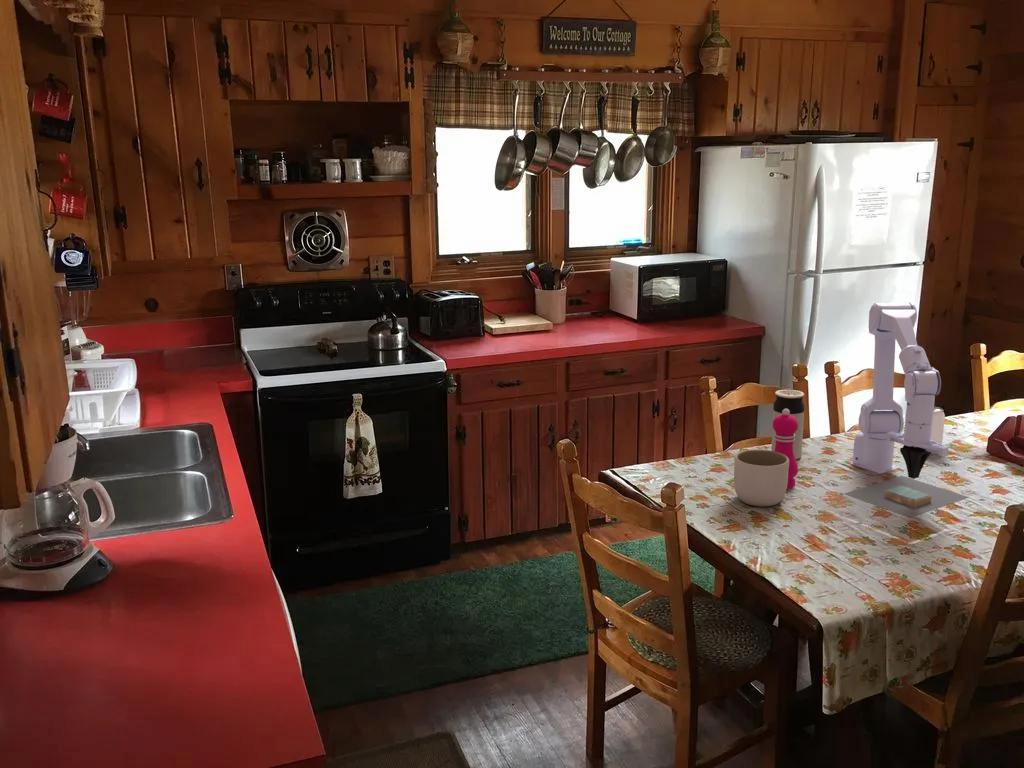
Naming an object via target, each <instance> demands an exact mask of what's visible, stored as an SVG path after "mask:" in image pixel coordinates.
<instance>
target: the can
mask: <svg viewBox="0 0 1024 768" xmlns="http://www.w3.org/2000/svg"><path fill="white" fill-rule="evenodd" d="M944 411H945V410H944V409H943V408H942V407H937V406H934V411H933V422H932V432H931V440H933V441H935V442H937V443H939V444H941V445H943V440H944V429H945V428H944V427H945V419H946V417H945V416H946V415H945V413H944ZM930 455H936V454H935V453H931V454H930Z"/></svg>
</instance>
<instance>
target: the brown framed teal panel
mask: <svg viewBox="0 0 1024 768" xmlns="http://www.w3.org/2000/svg"><path fill="white" fill-rule="evenodd" d="M885 497H886V498H889V499H892V500H894V501H897V502H900V503H903V504H906V505H909V506H911V507H914V508H915V507H918V506H921V505H924V504H927V503H930V502H931V495H929V494H926V493H923V492H920V491H917V490H914V489H911V488H908V487H905V486H898V487H895V488H892V489H889V490H886V491H885Z"/></svg>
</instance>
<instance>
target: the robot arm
mask: <svg viewBox="0 0 1024 768" xmlns="http://www.w3.org/2000/svg"><path fill="white" fill-rule="evenodd" d="M917 318H918V313H917V307H916V306H915V304H914V302H896V303H895V302H890V303H889V302H888V303H887V302H885V303H883V302H882V303H878V302H874V303H872V305H871V307H870V309H869V312H868V333H869V334H871V335H874V356H873V357H874V359H873V362H874V363H873V382H872V383H873V387H872V397H871V398H870V399H868V400H867V401H866V402H864V403H863V404H861V407H860V412H859V417H858V428H859V432H858V433H857V434H856V436H855V438H854V442H853V451H852V461H851V462H850V464H851V465H853V466H856V467H859V468H861V469H866V470H868V471H871V472H874V473H878V474H884V473H887V472H891V471H893V470H897V469H900V466H898V465H895V464H893V463H894V452H895V451H894V450H895V443H898V444H901V445H903V446H902V447H900V448H899V452H900V454H901V455H902V458H903V460H904V463H905V466H906V469H907V476H908V478H911V479H914V480H916V479H917V478H919V477H920V474H921V471H922V469H923V467H924V465H925V463H926V461H927V460H928V458H929V457H930V456H931V455H932V454H931V453H935V454H934V455H938V456H939V457H946V456H948V455H949V446H947V445H946V446H945V445H943V444H942V445H941V444H939V443H937V442H935V441H933V440H931V432H932V422H933V411H934V407H935V398H936V396H938V395H940V392H941V389H942V388H941V387H942V380H941V376H940V375H941V374H940V372H939V370H937V369H936V368H935V367H934V366H931V364H930V361H929V358H928V357H927V354H926V351H925V349H924V348H923V347H922V346H920V345H918V343H917V342H918V341H917V338H916V334H915V329H914V327H915V325H916V323H917ZM896 342H897V344H898V346H899V348H900V352H899V354H898V359H899V362H900V365H901V367H902V370H903V373H904V376H905V377H904V381H903V386H904V392H905V393H904V401H906V407H905V418H904V416H903V415H904V412H903V411H904V410H903V407H902V406H901V404H900V403H899V402H897V401H896V400H894V382H895V378H894V377H895V360H896V359H895V358H896V356H895V355H896ZM903 430H904V432H903ZM902 432H903V433H902Z"/></svg>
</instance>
